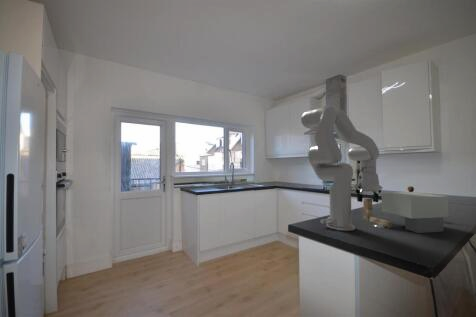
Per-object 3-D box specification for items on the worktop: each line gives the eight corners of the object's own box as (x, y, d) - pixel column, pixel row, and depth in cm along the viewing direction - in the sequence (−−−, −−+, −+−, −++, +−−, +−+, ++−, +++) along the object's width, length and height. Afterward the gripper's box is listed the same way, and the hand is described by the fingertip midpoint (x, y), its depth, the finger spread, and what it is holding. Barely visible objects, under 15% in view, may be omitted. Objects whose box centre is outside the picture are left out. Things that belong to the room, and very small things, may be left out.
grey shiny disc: (372, 225, 108) (372, 223, 108) (383, 226, 107) (383, 224, 107) (375, 228, 103) (375, 226, 103) (387, 229, 102) (387, 227, 102)
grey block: (411, 233, 95) (411, 197, 95) (381, 223, 111) (380, 192, 111) (448, 231, 98) (447, 196, 98) (413, 221, 114) (413, 191, 115)
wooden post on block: (363, 219, 118) (363, 197, 119) (368, 219, 119) (368, 197, 119) (388, 227, 103) (387, 203, 103) (393, 227, 103) (393, 202, 103)
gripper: (358, 170, 112) (358, 202, 111) (387, 171, 115) (387, 203, 114) (349, 169, 120) (348, 200, 119) (376, 171, 122) (376, 201, 121)
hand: (367, 201), depth 116 cm, fingers open, 9 cm apart
